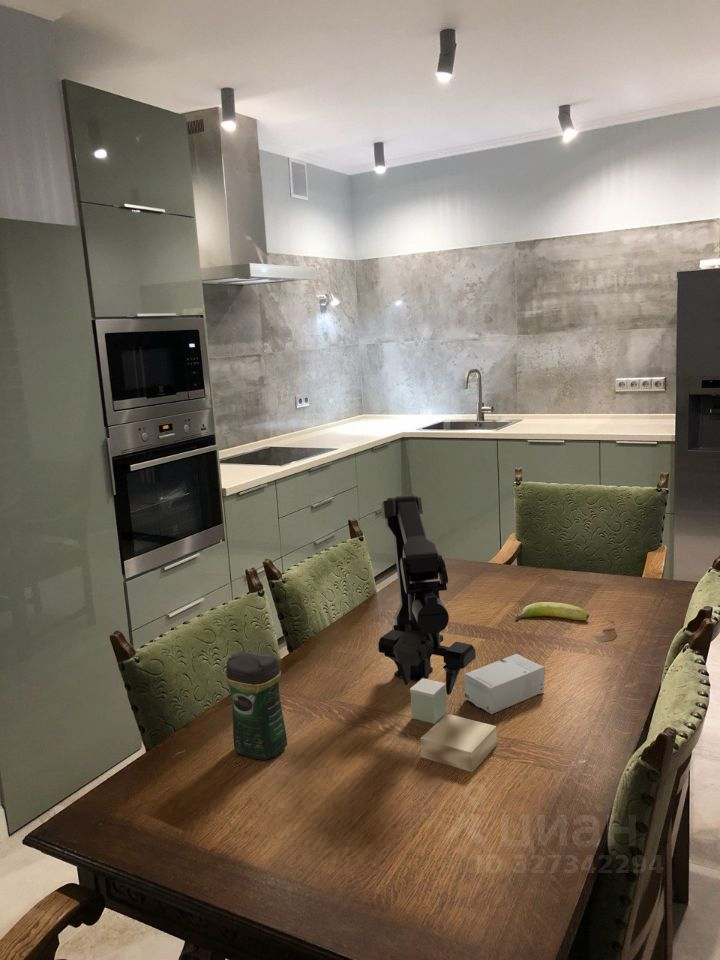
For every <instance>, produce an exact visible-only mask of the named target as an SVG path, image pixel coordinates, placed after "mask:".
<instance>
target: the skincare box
mask: <svg viewBox="0 0 720 960" xmlns="http://www.w3.org/2000/svg"><path fill="white" fill-rule="evenodd" d="M545 669H546V668H545V666H543V665H541V664H539V663H536V662H534V661H532V660H530V659H528V658H526V657H525V656H522V655H520V654H519V653H515V654H512V655H509V656H507V657H505V658H502V659H499V660H496V661H494V662H491V663H489V664H487V665H484V666H482V667H478V668H477V669H473V670H471V671H468V672H466V673H464V674H463V680H464V682H463V683H464V698H465V700H467V701H469V702H471V703H472V704H474V705H475V706H476V707H477V708H479V709H480V708H481V709H483V710H484V711H485V712H487V713H489V714H491V715H493V714H495V713H497V712H501V711H503V710H504V709H507V708H509V707H511V706H514V705H517V704H519V703H521V702H524V701H527V700H528V699H530V698H533V697H535V696H537V694H538V695H541V694H542V692H543V693H545V674H546V673H545V671H546V670H545Z"/></svg>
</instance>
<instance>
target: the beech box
mask: <svg viewBox="0 0 720 960" xmlns="http://www.w3.org/2000/svg"><path fill="white" fill-rule="evenodd" d="M496 746H498V731H497V726H496V725H493V724H489V723H485V722H481V721H477V720H472V719H469V718H466V717H462V716H458V715H453V714H451V713H450V714H449V713H445V714H444V715H443V716H442V717H441V718H440V719H439V720H438V721H437V722H436V723H435V724H434V725H433V726H432V727H431V728H429V729H428V731H427V732H426V733H425V734H423V735H422V736H421V737H420V755H421V758H423V759H427V760H430V761H433V762H436V763H440V764H442V765H443V764H444V765H446V766H450V767H455V768H457V769H460V770H464V771H467V772H471V773H473V772H474V771H475V770H476V769H477V768H478V766H480V764H482V762H484V760H485V759H486V757H487V756H489V754H491V752H492V751H493V750H495V748H496Z"/></svg>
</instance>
